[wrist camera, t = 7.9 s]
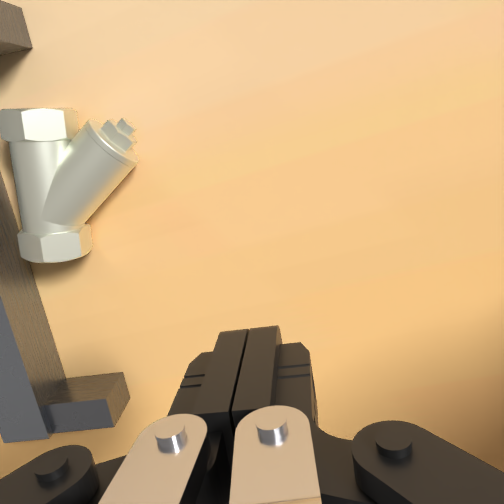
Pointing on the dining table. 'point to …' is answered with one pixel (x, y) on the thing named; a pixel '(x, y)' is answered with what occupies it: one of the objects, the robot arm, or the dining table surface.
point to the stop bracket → (39, 331)
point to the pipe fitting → (63, 176)
